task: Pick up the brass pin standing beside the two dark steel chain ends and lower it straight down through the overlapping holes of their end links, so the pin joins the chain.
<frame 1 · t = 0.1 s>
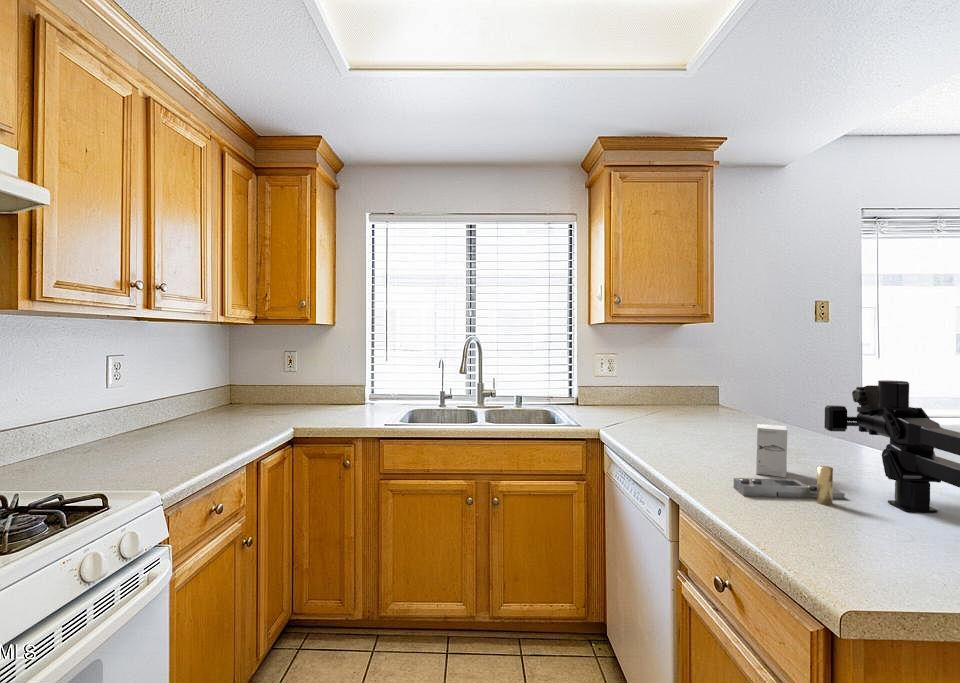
hand: (847, 414, 147), 17 cm above the countertop, tool horizontal, fingers open, 9 cm apart
supplement box: (771, 473, 152), on the countertop
brass pin: (824, 502, 126), on the countertop
lower chain end: (787, 493, 133), on the countertop
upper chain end: (787, 493, 133), on the countertop
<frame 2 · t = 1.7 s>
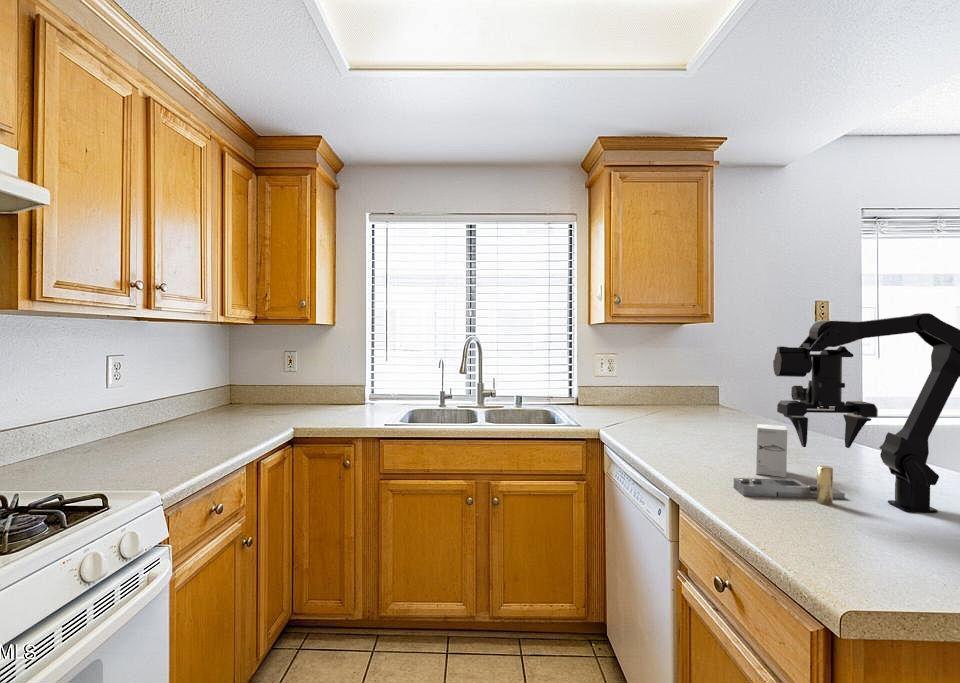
hand: (825, 447, 126), 12 cm above the countertop, tool pointing down, fingers open, 9 cm apart
nothing on the countertop moved.
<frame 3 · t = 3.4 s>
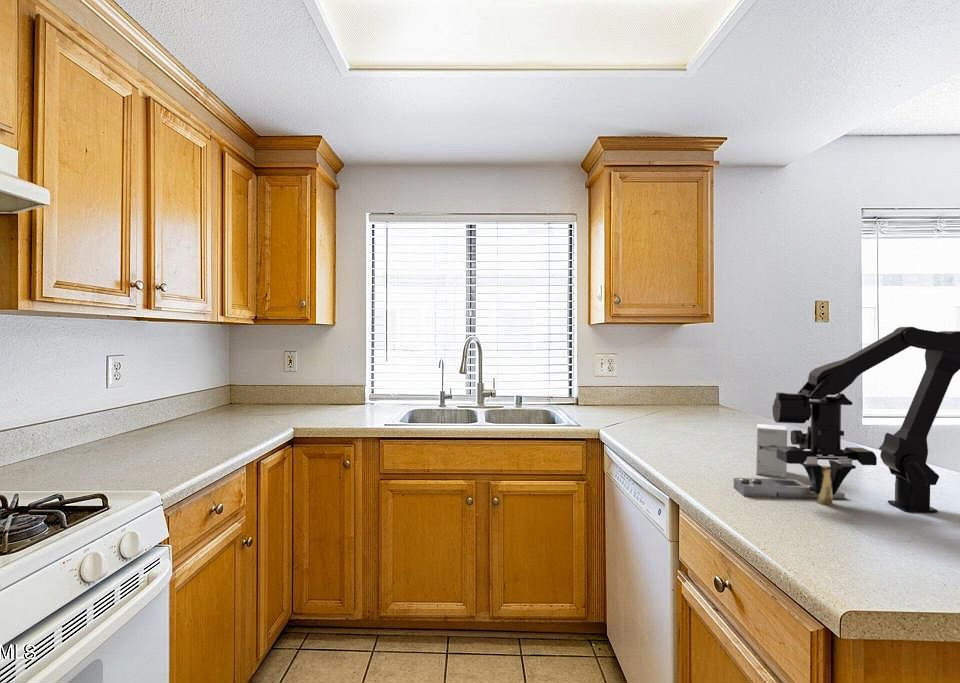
hand: (824, 493, 126), 2 cm above the countertop, tool pointing down, fingers closed on brass pin, 3 cm apart
brass pin: (824, 502, 126), on the countertop, touching gripper
everything else where it was.
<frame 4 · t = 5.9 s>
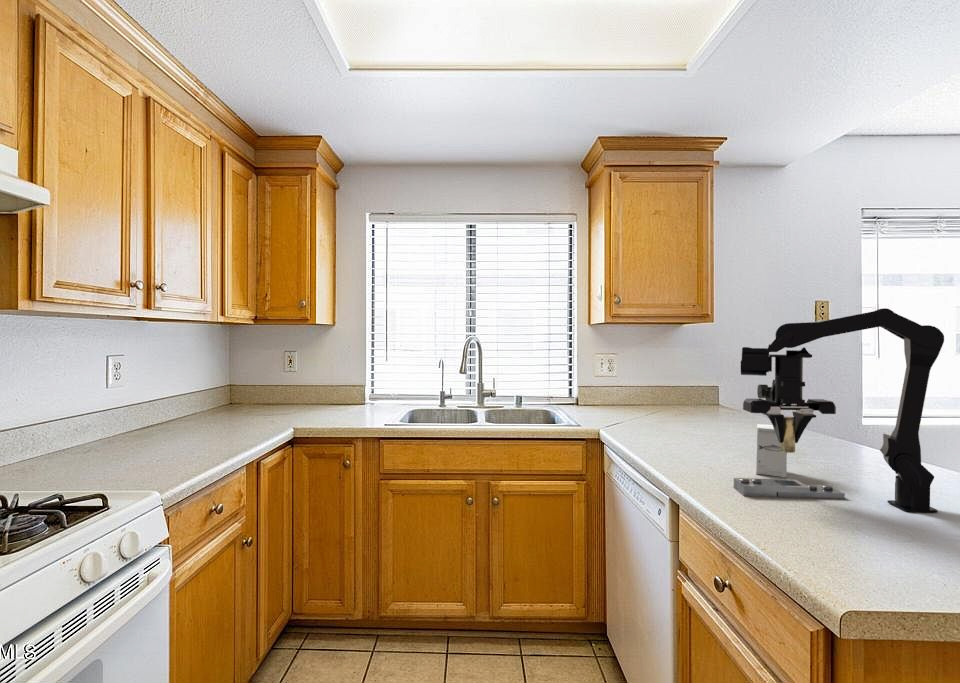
hand: (787, 442, 133), 12 cm above the countertop, tool pointing down, fingers closed on brass pin, 3 cm apart
brass pin: (787, 451, 133), point 10 cm above the countertop, touching gripper
everything else where it was.
when the fingers open (4 cm above the countertop, at t = 8.3 s): brass pin drops 2 cm, resting in lower chain end.
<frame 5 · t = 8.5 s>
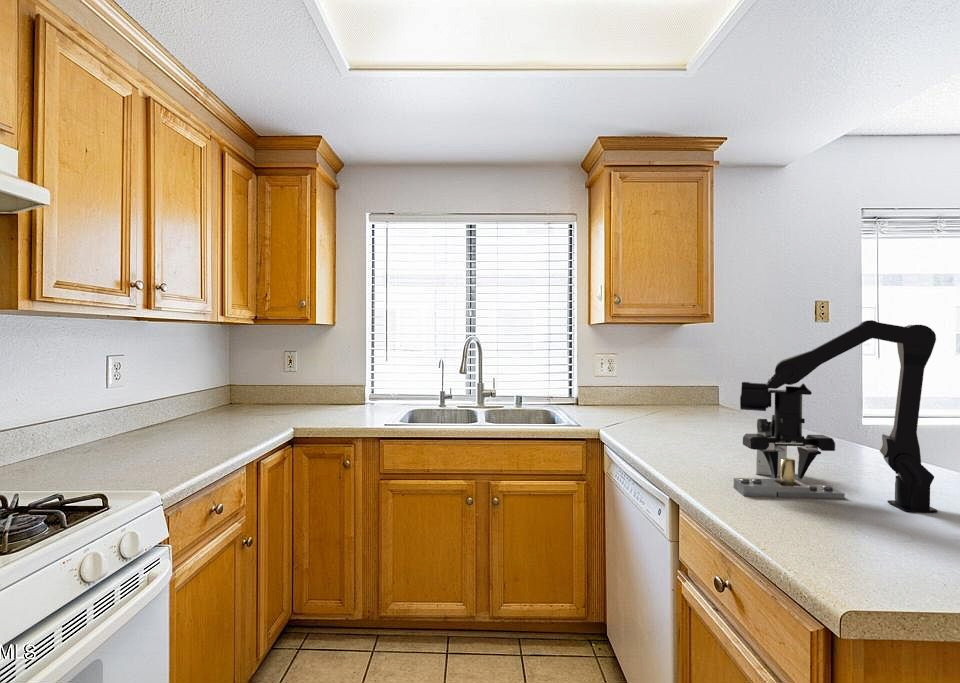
hand: (787, 478, 133), 4 cm above the countertop, tool pointing down, fingers open, 5 cm apart
brass pin: (787, 493, 133), resting in lower chain end
everything else where it was.
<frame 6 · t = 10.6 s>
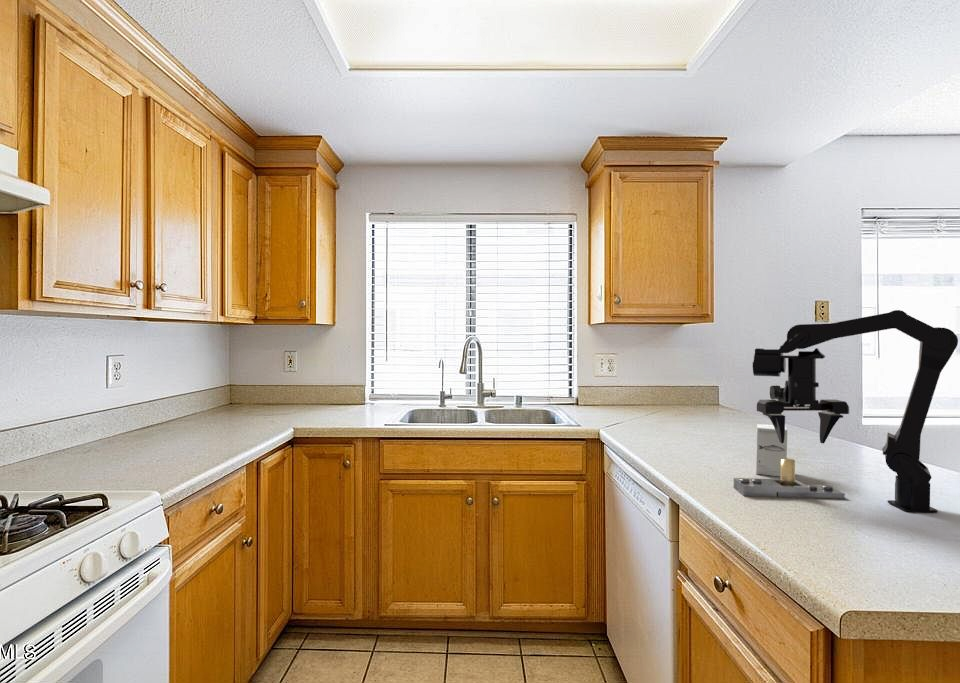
hand: (801, 443, 134), 12 cm above the countertop, tool pointing down, fingers open, 9 cm apart
nothing on the countertop moved.
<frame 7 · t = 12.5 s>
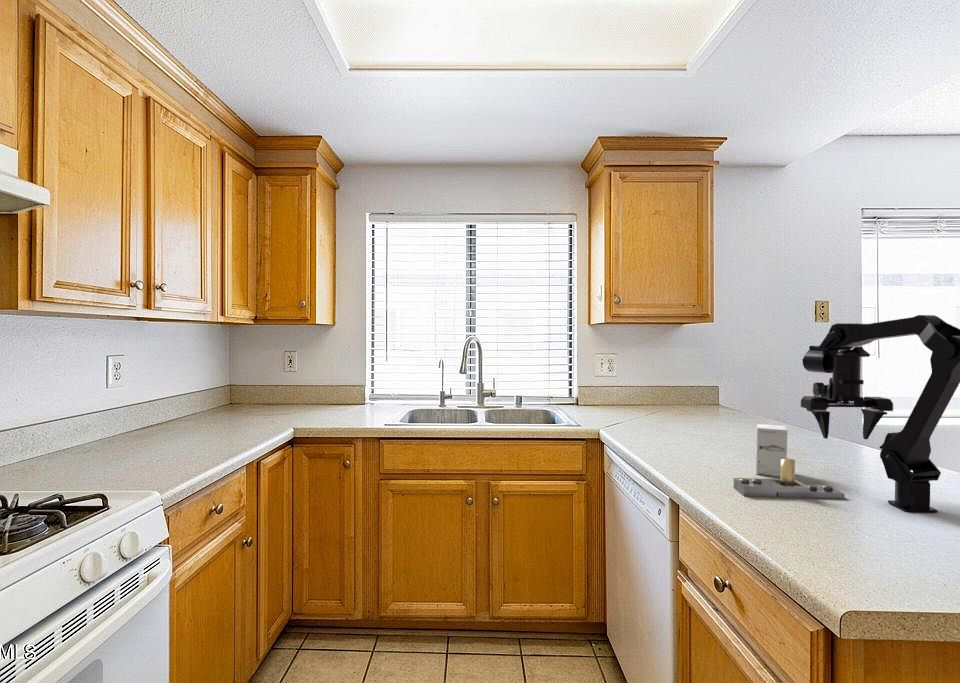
hand: (845, 438, 137), 12 cm above the countertop, tool pointing down, fingers open, 9 cm apart
nothing on the countertop moved.
at the end: brass pin 0.1 cm off-centre on the lower chain end, point 0.0 cm above the lower chain end's base; brass pin tilted 0°; the gripper is holding nothing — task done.
